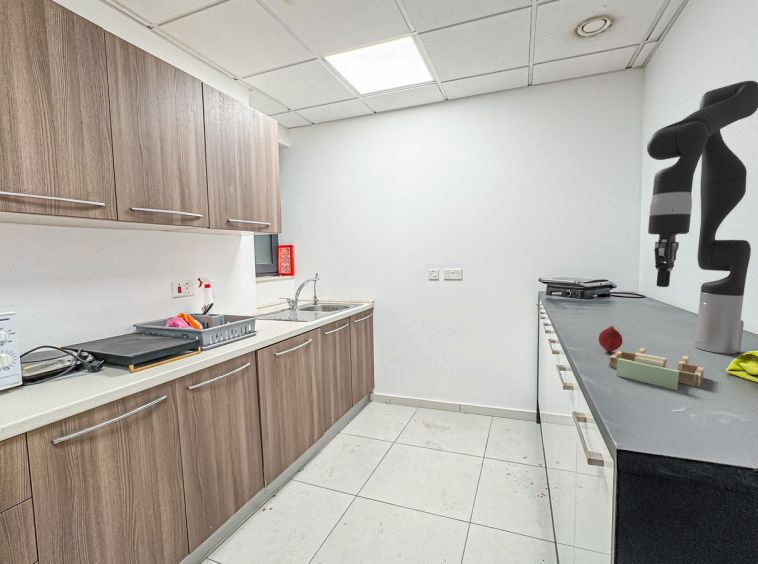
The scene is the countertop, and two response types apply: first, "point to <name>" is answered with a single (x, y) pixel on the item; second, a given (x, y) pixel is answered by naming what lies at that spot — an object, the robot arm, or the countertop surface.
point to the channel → (686, 371)
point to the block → (651, 360)
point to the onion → (610, 339)
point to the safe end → (648, 373)
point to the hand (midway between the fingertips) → (662, 286)
